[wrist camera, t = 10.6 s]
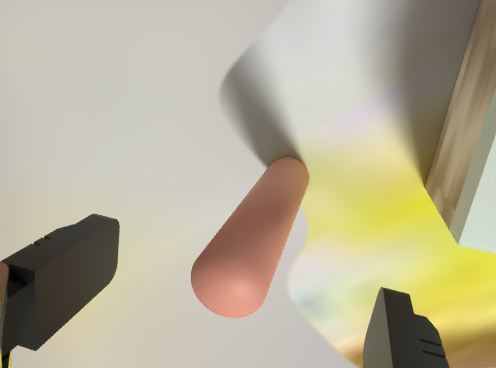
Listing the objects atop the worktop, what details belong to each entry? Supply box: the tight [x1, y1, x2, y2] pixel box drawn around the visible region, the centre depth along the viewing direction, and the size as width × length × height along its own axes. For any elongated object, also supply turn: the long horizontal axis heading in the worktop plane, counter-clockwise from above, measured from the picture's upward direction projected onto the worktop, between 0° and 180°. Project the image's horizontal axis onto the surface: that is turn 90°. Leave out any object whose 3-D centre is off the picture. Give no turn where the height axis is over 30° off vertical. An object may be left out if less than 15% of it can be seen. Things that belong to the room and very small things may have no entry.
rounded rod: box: [191, 157, 309, 318], centre depth 18 cm, size 2×2×12 cm
